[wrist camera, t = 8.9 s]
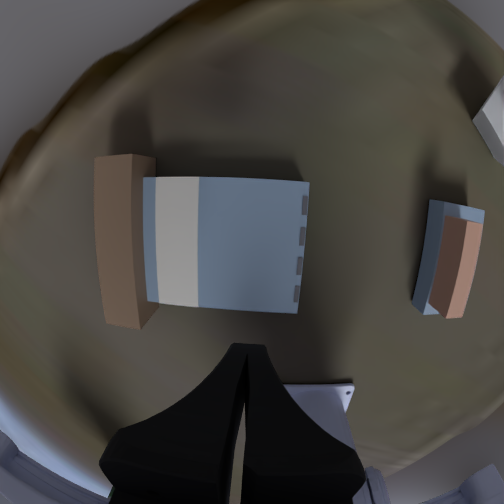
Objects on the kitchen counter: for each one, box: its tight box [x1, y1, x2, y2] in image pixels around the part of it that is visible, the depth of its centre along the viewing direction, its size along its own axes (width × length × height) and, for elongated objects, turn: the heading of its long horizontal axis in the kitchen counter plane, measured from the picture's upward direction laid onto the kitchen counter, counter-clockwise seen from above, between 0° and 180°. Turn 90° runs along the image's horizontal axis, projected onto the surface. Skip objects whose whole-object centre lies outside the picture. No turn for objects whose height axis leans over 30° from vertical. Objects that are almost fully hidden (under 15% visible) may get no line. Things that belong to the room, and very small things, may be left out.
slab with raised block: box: [412, 199, 485, 318], centre depth 17 cm, size 9×5×5 cm, turn 177°
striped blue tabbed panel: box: [94, 154, 310, 330], centre depth 18 cm, size 12×14×4 cm
